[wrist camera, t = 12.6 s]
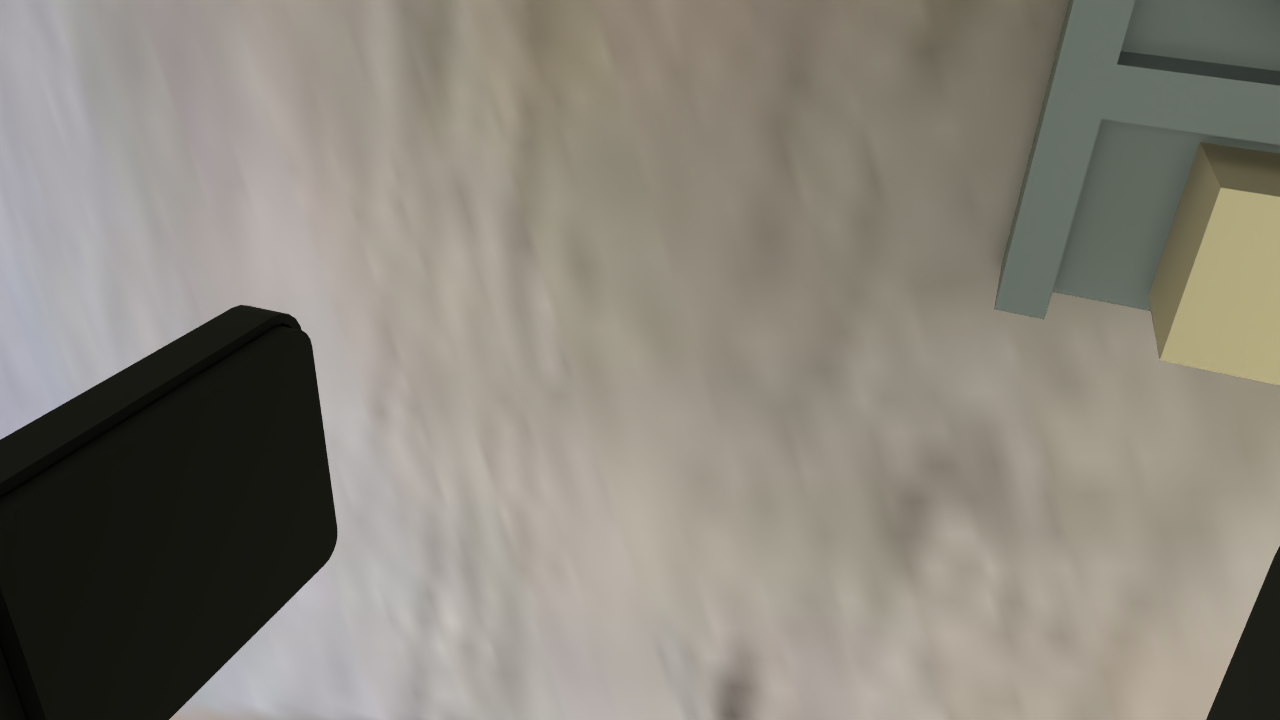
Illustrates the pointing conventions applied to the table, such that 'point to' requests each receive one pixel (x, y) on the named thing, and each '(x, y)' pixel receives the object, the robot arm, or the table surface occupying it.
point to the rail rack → (1160, 178)
